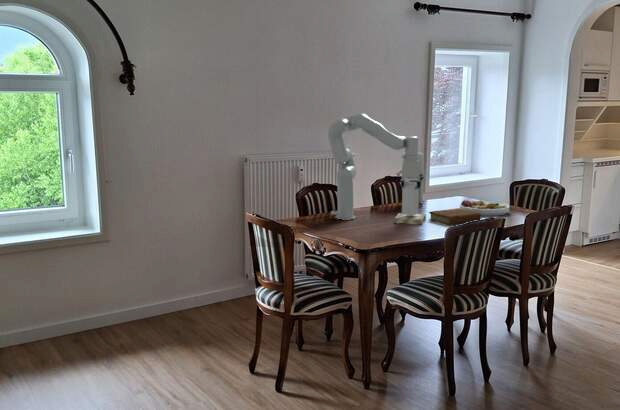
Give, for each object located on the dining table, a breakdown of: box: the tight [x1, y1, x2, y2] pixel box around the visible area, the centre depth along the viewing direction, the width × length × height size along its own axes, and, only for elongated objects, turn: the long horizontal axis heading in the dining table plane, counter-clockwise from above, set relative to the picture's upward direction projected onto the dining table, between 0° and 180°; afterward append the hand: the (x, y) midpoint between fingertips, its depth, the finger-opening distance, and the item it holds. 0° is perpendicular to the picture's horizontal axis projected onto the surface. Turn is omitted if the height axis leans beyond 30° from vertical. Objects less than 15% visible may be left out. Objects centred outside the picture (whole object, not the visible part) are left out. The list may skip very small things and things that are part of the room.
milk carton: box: [401, 182, 419, 215], centre depth 358 cm, size 7×7×19 cm
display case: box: [402, 152, 425, 208], centre depth 409 cm, size 11×11×35 cm
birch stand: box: [394, 212, 427, 225], centre depth 360 cm, size 16×16×3 cm
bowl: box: [459, 199, 510, 217], centre depth 384 cm, size 30×30×8 cm
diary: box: [428, 207, 482, 227], centre depth 359 cm, size 23×19×6 cm
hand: (410, 187), depth 357 cm, fingers closed on milk carton, 8 cm apart
